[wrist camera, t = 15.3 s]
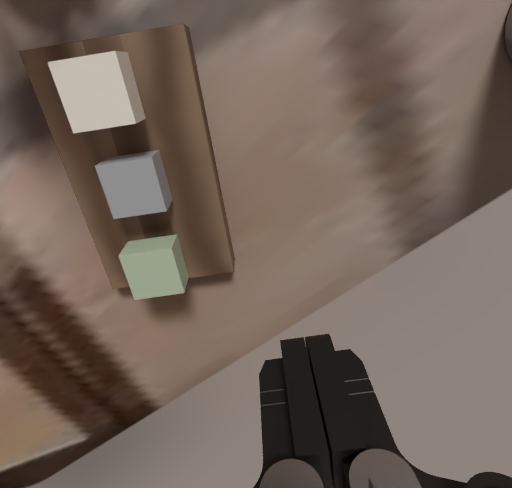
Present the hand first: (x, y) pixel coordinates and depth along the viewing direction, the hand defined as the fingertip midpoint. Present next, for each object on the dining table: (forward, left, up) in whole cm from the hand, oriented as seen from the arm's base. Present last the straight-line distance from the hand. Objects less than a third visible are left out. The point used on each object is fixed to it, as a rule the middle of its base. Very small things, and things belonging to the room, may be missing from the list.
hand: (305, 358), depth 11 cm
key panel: (+12, 0, -29) cm, 31 cm away
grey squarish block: (+12, 0, -28) cm, 31 cm away
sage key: (+12, +8, -27) cm, 30 cm away
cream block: (+12, -8, -26) cm, 30 cm away
